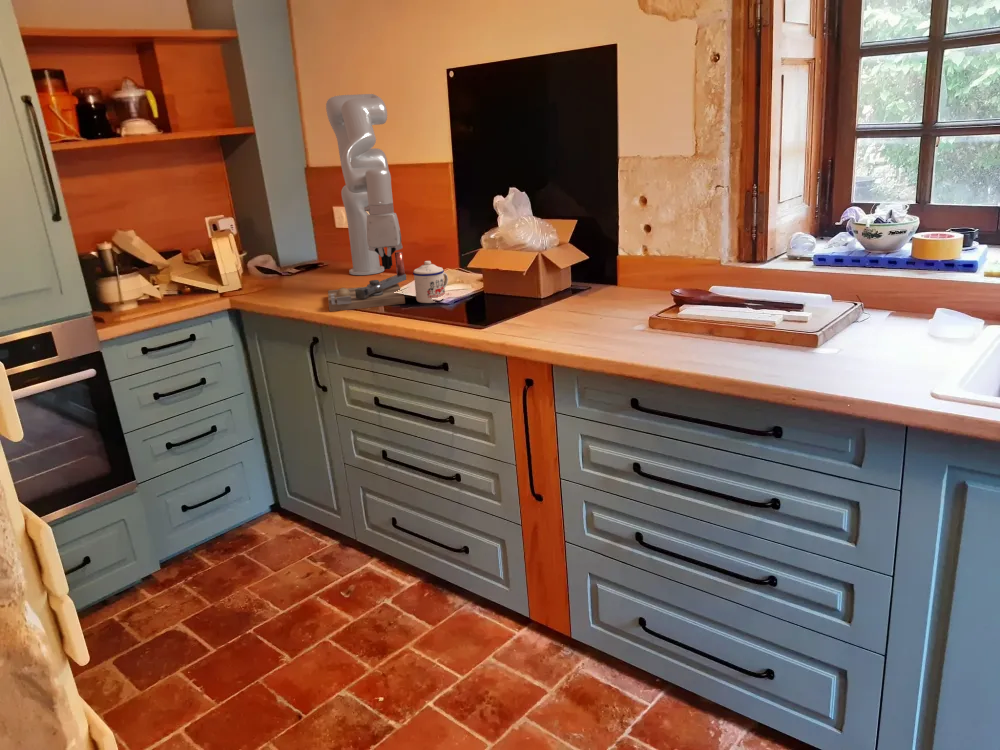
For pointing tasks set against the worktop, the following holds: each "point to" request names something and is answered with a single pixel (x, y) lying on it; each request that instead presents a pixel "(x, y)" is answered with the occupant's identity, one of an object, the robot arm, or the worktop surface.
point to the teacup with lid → (429, 282)
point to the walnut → (342, 292)
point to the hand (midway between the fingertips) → (387, 268)
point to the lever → (387, 282)
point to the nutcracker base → (371, 301)
